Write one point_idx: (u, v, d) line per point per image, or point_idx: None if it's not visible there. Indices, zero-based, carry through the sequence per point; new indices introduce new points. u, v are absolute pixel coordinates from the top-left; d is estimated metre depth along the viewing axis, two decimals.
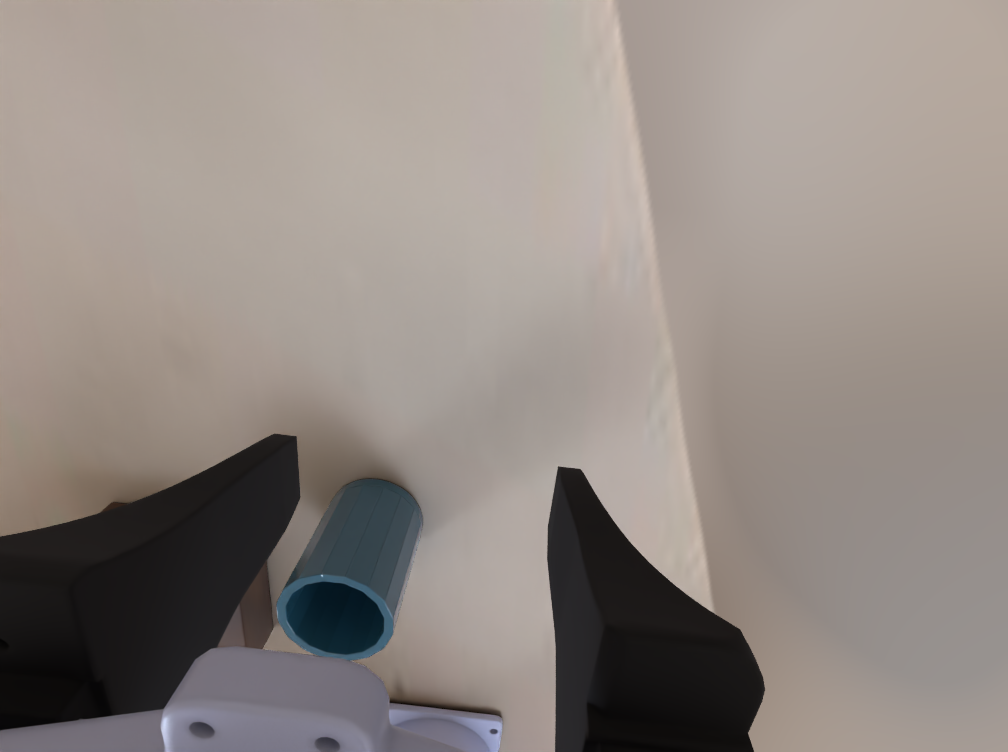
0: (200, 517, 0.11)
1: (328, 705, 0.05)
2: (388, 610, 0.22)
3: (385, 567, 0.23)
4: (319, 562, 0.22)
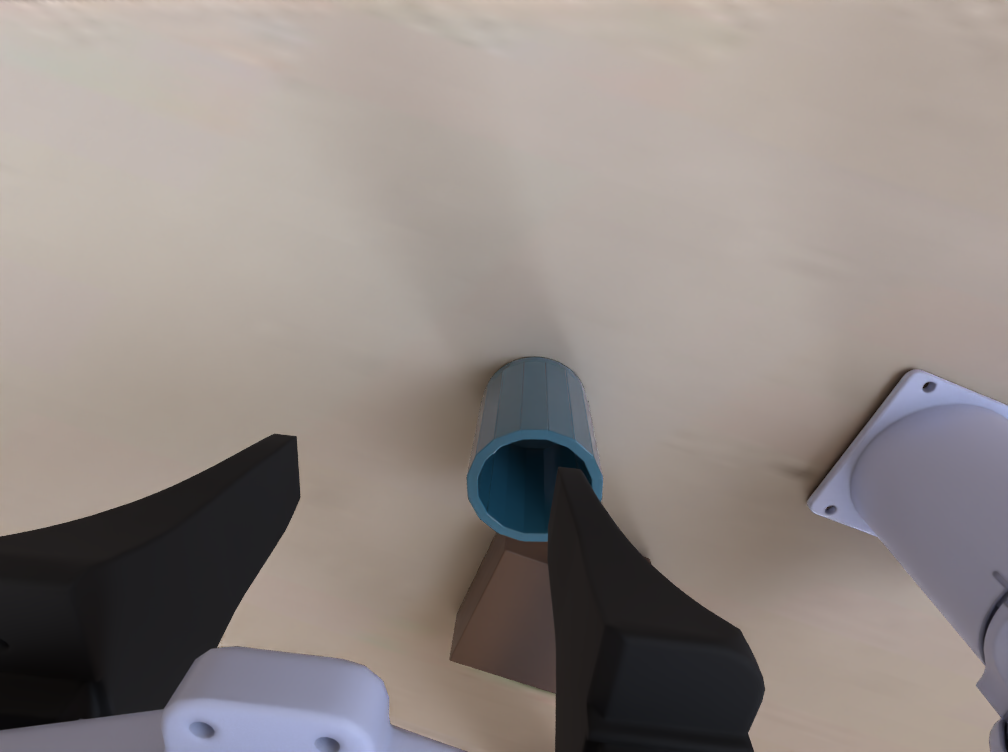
0: (200, 517, 0.11)
1: (328, 705, 0.05)
2: (535, 430, 0.19)
3: (509, 414, 0.20)
4: None
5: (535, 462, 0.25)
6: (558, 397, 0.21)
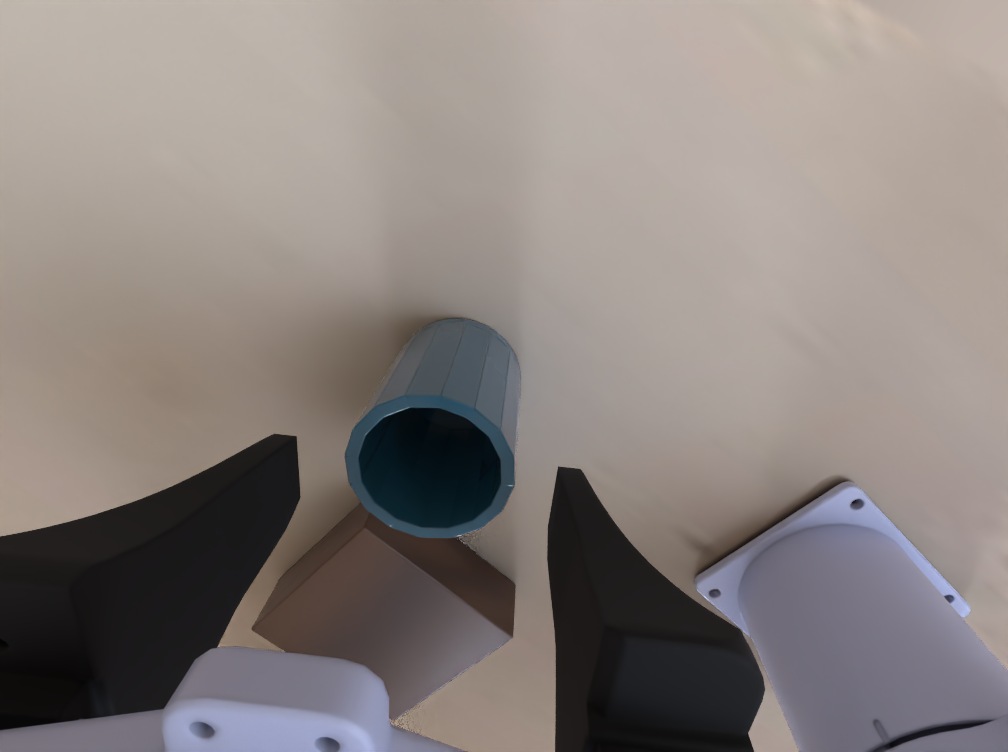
0: (200, 517, 0.11)
1: (328, 705, 0.05)
2: (458, 403, 0.15)
3: (432, 373, 0.16)
4: None
5: (436, 441, 0.21)
6: (494, 376, 0.17)
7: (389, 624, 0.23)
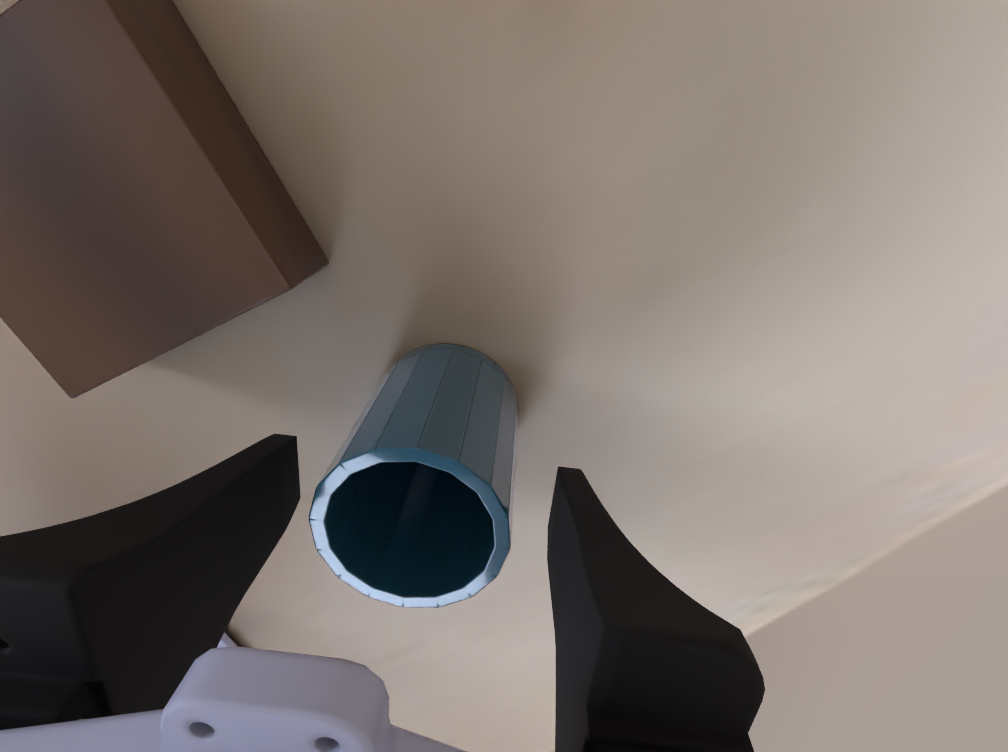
0: (200, 517, 0.11)
1: (328, 705, 0.05)
2: (482, 587, 0.14)
3: None
4: (481, 459, 0.13)
5: None
6: None
7: (94, 238, 0.14)
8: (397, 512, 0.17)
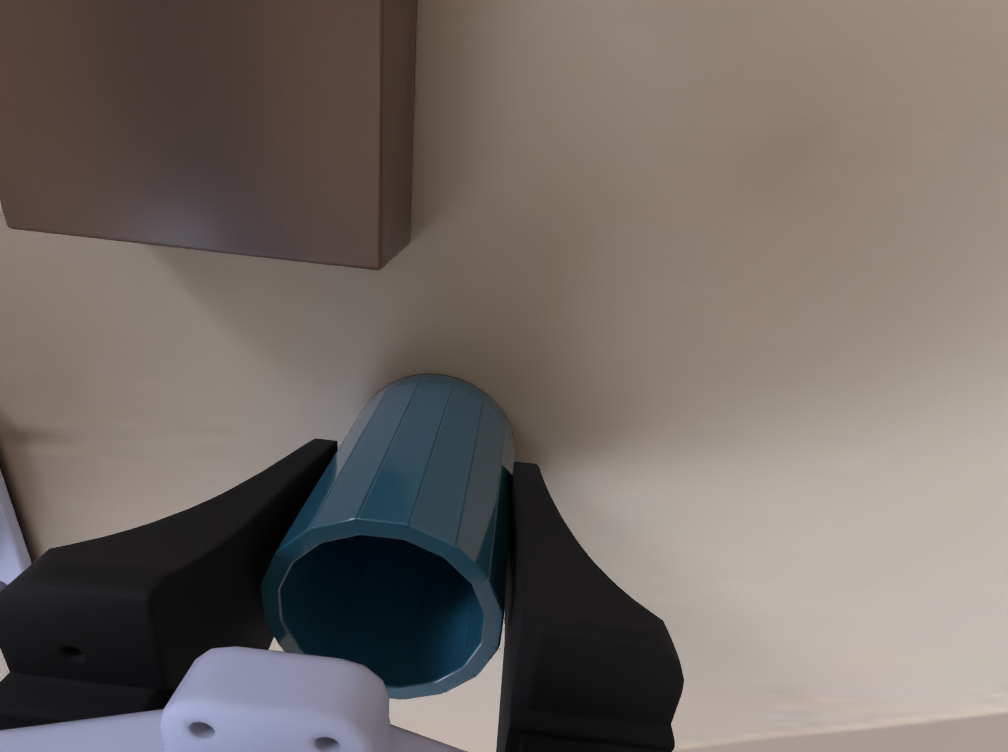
0: (256, 524, 0.11)
1: (328, 705, 0.05)
2: (420, 695, 0.12)
3: None
4: (501, 574, 0.11)
5: None
6: None
7: (173, 74, 0.10)
8: (342, 546, 0.14)
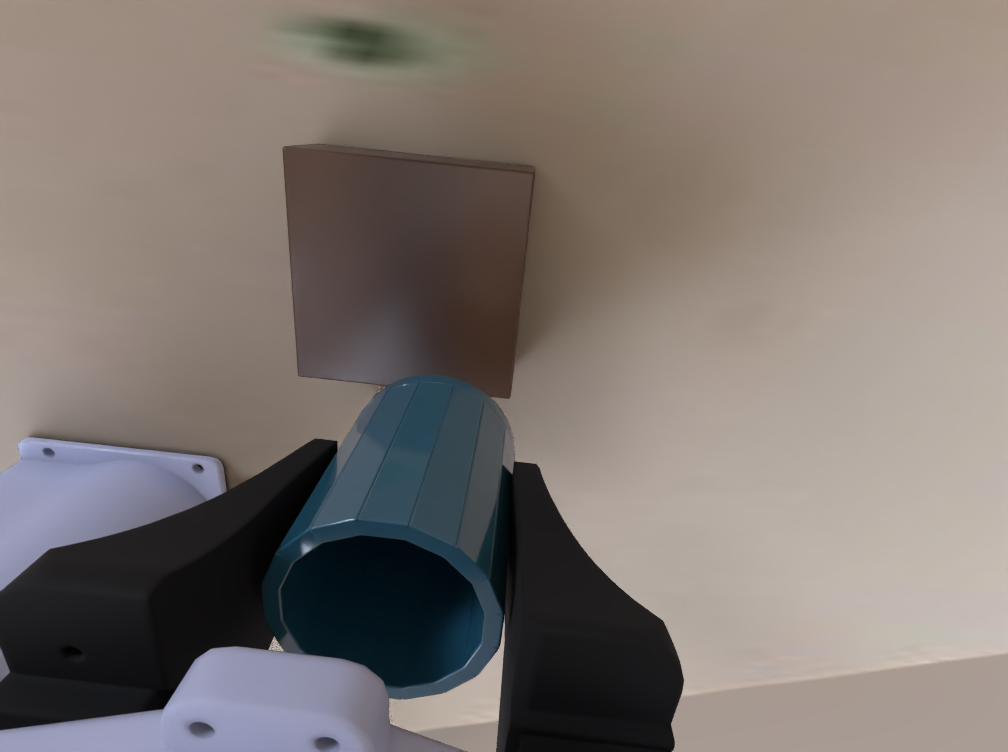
0: (256, 523, 0.11)
1: (328, 705, 0.05)
2: (420, 695, 0.12)
3: None
4: (501, 574, 0.11)
5: None
6: None
7: (407, 303, 0.19)
8: (343, 546, 0.14)
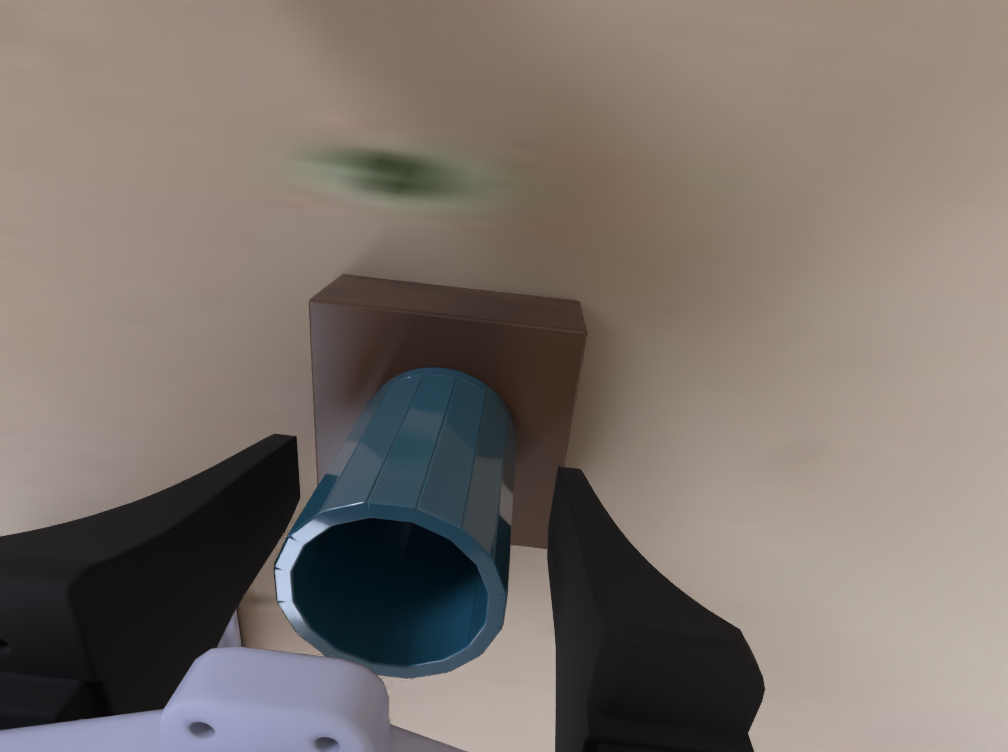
0: (200, 517, 0.11)
1: (328, 705, 0.05)
2: (426, 674, 0.12)
3: None
4: (504, 556, 0.12)
5: None
6: None
7: None
8: (350, 533, 0.14)
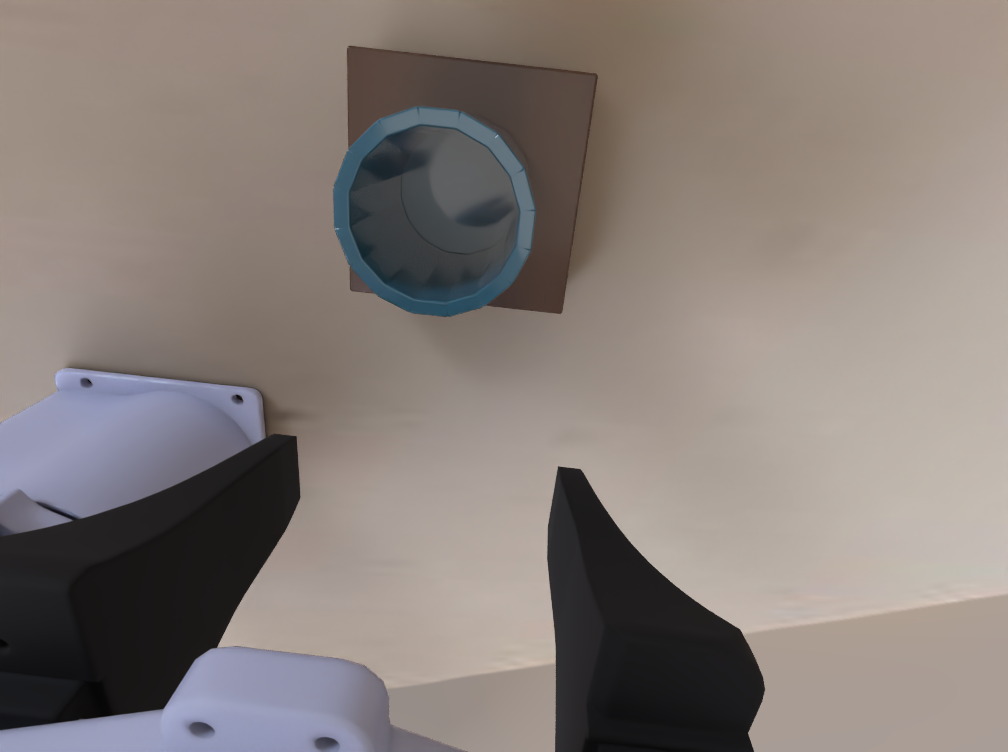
0: (200, 517, 0.11)
1: (328, 705, 0.05)
2: (463, 311, 0.14)
3: None
4: (532, 191, 0.13)
5: (434, 131, 0.17)
6: None
7: None
8: (388, 234, 0.16)
